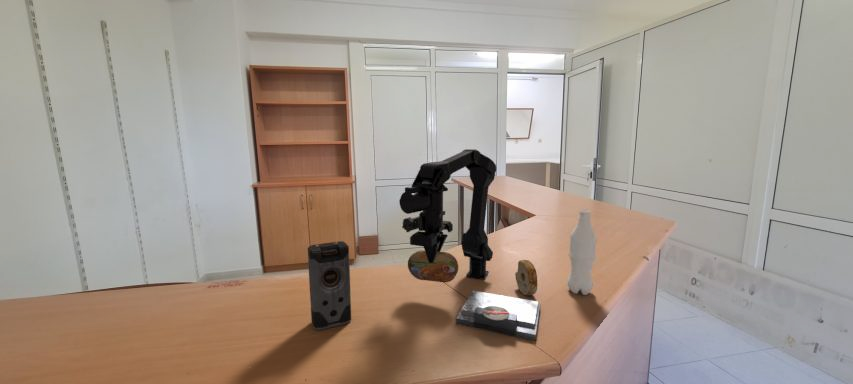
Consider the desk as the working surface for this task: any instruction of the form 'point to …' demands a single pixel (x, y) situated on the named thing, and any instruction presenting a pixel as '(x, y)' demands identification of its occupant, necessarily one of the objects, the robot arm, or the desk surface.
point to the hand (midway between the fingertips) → (432, 261)
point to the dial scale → (500, 314)
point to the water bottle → (582, 254)
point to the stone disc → (526, 277)
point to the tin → (433, 267)
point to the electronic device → (329, 284)
